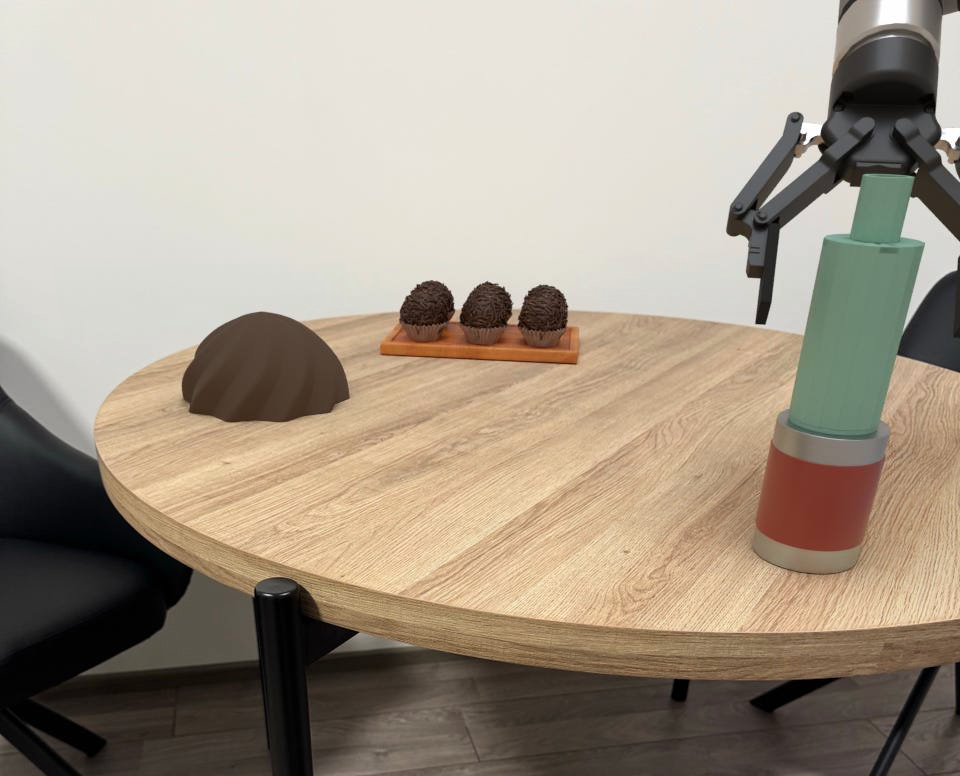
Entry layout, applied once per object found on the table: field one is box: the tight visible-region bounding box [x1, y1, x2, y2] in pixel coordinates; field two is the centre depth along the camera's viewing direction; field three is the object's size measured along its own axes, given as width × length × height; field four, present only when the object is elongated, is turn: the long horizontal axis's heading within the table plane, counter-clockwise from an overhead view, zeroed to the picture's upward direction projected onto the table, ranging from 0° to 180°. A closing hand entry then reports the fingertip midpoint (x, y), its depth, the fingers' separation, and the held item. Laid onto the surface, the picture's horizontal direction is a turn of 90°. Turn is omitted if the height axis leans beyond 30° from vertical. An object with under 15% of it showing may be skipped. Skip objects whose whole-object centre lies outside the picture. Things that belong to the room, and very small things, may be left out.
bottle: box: [788, 174, 926, 436], centre depth 66 cm, size 7×7×17 cm
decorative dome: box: [181, 311, 350, 423], centre depth 107 cm, size 19×20×10 cm
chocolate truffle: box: [379, 279, 580, 364], centre depth 133 cm, size 28×17×8 cm, turn 84°
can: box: [751, 408, 892, 575], centre depth 73 cm, size 9×9×11 cm
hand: (862, 320), depth 64 cm, fingers open, 13 cm apart
